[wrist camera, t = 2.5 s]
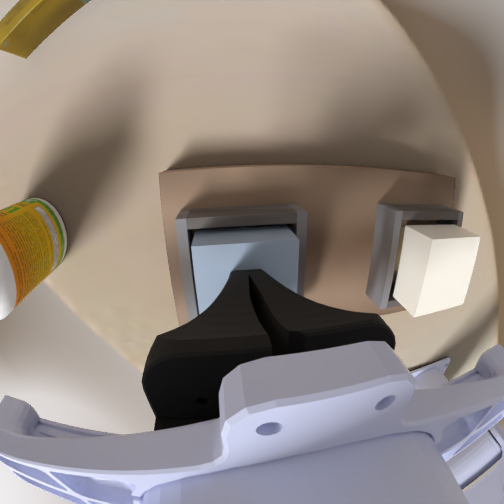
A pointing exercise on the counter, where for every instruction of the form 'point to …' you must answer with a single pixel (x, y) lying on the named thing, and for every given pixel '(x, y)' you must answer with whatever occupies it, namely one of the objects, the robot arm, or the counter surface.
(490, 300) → the counter surface
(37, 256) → the supplement bottle
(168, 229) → the key board
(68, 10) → the medication box
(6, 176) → the counter surface
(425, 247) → the cream key
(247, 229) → the blue key
